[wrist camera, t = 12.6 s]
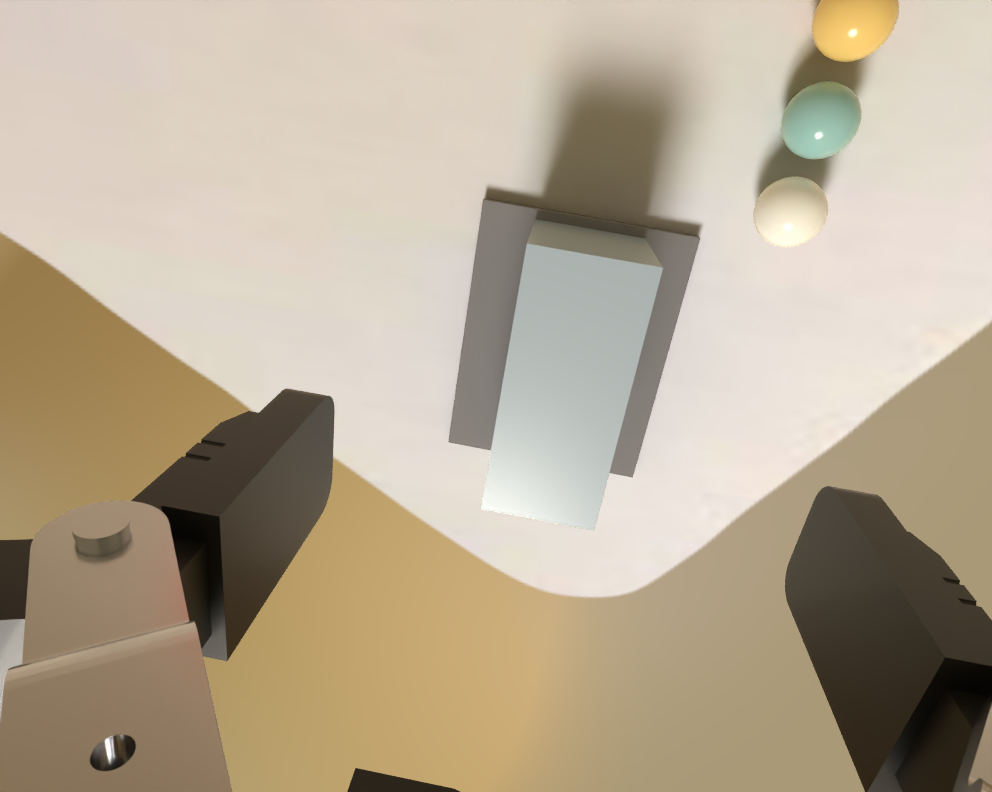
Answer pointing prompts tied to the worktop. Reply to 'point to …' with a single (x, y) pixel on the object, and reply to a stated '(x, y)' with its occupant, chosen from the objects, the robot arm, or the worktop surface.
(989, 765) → the robot arm
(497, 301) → the mat
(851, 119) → the marble teal
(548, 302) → the cover
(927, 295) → the worktop surface
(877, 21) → the marble amber
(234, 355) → the worktop surface
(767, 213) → the marble white
